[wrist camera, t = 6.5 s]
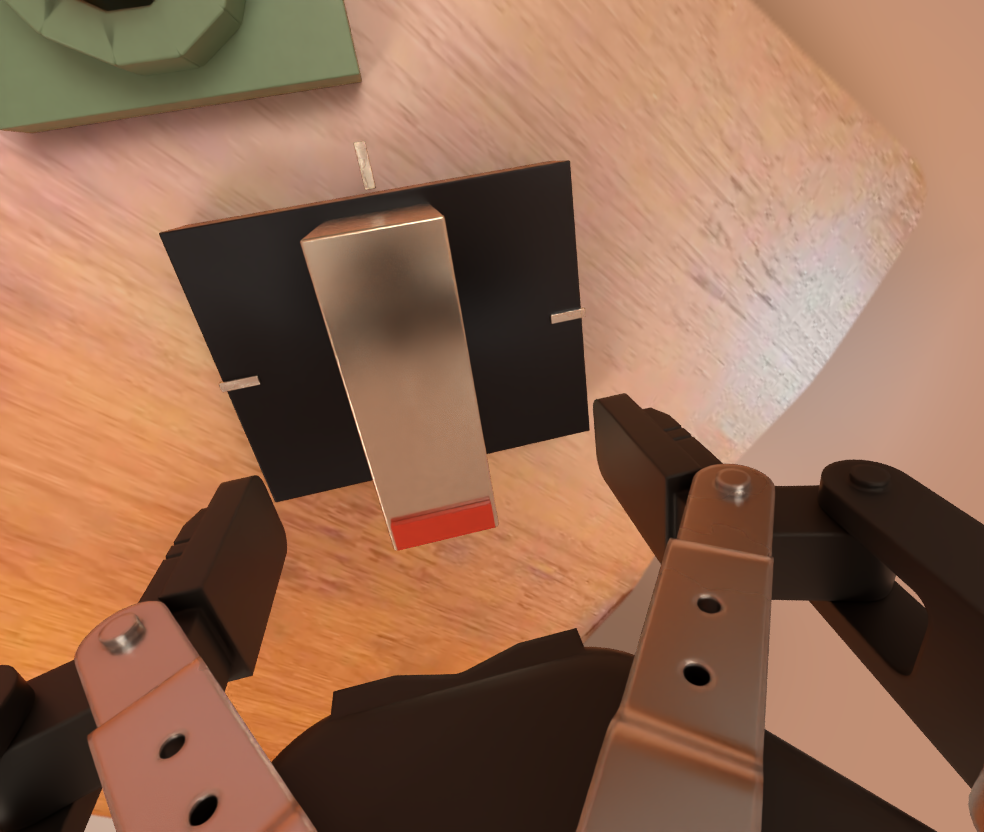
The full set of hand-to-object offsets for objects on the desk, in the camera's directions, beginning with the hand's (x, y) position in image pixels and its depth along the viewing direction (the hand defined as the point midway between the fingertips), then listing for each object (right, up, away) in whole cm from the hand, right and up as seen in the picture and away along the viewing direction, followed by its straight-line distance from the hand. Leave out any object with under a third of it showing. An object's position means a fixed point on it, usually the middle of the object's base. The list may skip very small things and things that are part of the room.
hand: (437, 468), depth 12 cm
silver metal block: (-2, +4, +7) cm, 9 cm away
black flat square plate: (-2, +5, +10) cm, 11 cm away
